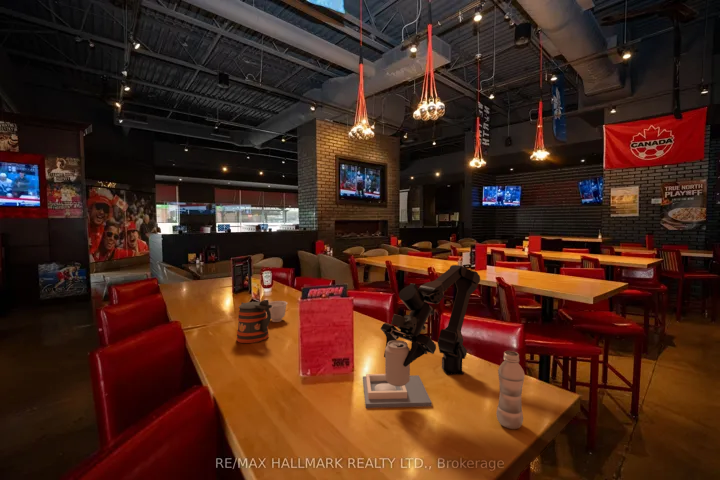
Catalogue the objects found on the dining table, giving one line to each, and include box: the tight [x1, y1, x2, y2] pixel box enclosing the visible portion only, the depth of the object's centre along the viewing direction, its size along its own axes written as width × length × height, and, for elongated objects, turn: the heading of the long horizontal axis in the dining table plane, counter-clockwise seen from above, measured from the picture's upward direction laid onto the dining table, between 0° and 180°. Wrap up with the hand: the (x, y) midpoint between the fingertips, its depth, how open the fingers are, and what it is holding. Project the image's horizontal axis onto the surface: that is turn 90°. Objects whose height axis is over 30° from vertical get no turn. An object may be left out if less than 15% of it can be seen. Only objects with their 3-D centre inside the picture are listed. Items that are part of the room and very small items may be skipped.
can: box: [384, 339, 411, 386], centre depth 96 cm, size 8×8×12 cm
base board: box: [362, 373, 433, 409], centre depth 103 cm, size 20×17×3 cm
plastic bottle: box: [495, 350, 526, 430], centre depth 86 cm, size 6×7×20 cm
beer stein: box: [236, 299, 272, 344], centre depth 150 cm, size 19×15×20 cm
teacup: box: [268, 300, 288, 323], centre depth 177 cm, size 12×15×10 cm
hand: (394, 361), depth 95 cm, fingers closed on can, 7 cm apart
